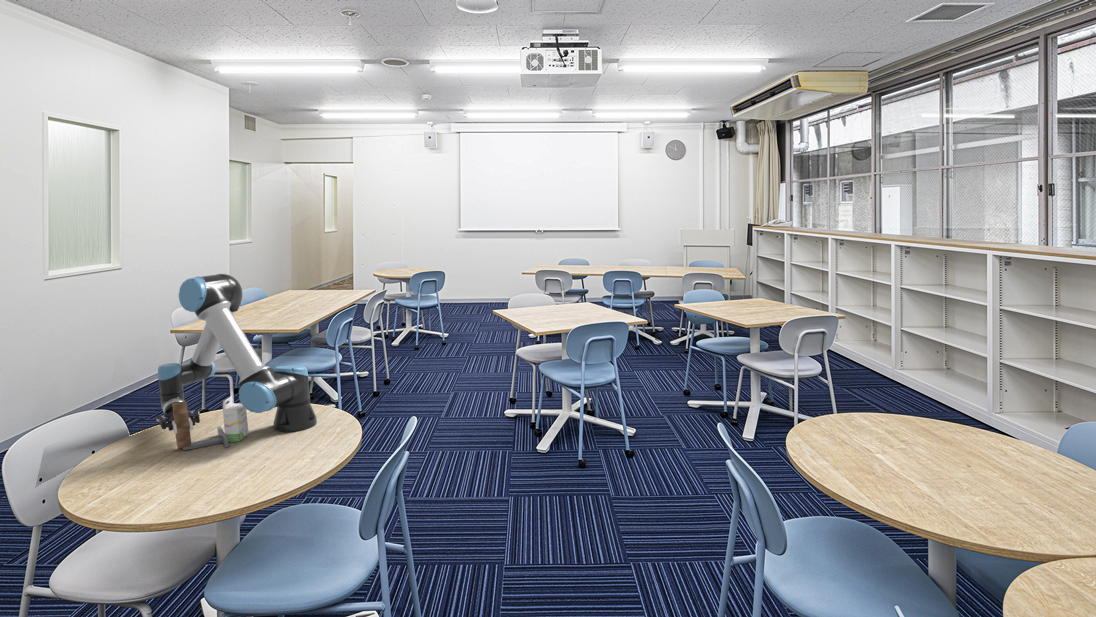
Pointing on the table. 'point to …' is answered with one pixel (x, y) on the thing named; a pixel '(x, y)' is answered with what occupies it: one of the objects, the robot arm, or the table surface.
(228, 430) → the ink box
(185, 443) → the wooden post on rail
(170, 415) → the robot arm
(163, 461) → the table surface
